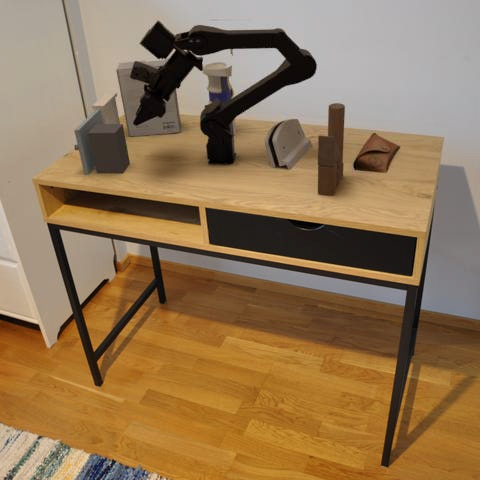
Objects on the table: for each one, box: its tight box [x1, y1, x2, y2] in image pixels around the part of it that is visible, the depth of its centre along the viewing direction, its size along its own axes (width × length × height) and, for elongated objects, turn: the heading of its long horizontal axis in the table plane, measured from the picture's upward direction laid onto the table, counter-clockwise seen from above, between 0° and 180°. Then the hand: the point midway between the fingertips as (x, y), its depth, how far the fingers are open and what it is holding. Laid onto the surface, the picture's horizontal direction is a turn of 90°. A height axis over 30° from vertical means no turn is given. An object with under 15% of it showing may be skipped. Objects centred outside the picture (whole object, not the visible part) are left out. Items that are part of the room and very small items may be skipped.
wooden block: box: [317, 102, 346, 197], centre depth 125 cm, size 4×11×18 cm, turn 159°
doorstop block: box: [88, 123, 131, 175], centre depth 142 cm, size 7×6×11 cm
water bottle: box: [202, 49, 237, 136], centre depth 155 cm, size 8×9×25 cm
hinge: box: [264, 118, 313, 171], centre depth 144 cm, size 17×5×10 cm, turn 154°
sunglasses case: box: [352, 132, 401, 174], centre depth 141 cm, size 18×7×7 cm
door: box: [73, 109, 103, 175], centre depth 147 cm, size 3×16×12 cm, turn 172°
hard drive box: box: [115, 58, 182, 137], centre depth 161 cm, size 16×8×20 cm, turn 94°
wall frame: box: [92, 92, 121, 124], centre depth 157 cm, size 3×11×13 cm, turn 172°
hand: (135, 120), depth 139 cm, fingers open, 6 cm apart
